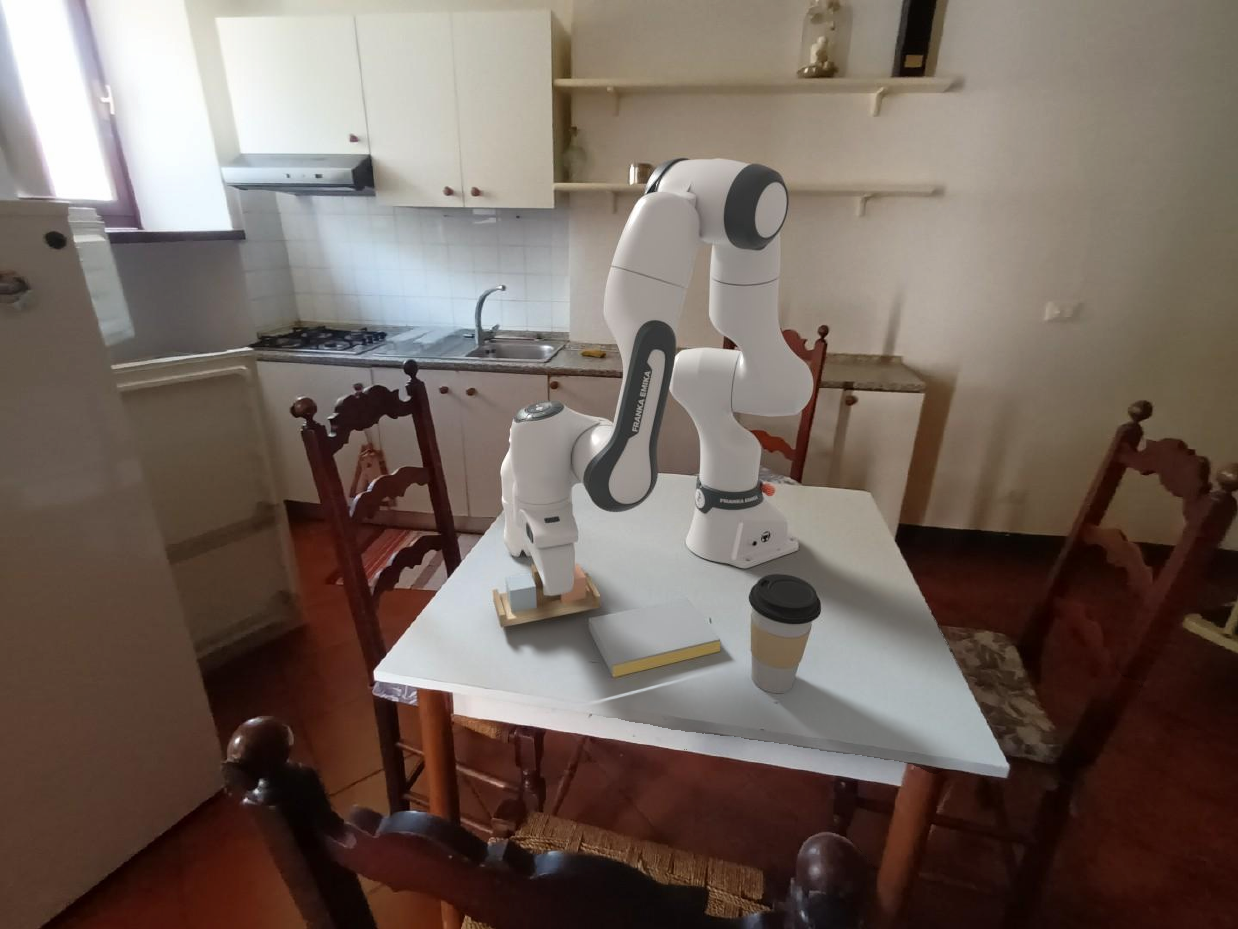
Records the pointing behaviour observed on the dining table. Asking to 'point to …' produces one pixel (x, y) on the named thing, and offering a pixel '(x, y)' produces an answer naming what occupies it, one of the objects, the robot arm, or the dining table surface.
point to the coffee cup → (780, 629)
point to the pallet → (544, 604)
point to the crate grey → (521, 592)
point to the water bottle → (511, 511)
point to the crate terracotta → (576, 587)
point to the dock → (652, 636)
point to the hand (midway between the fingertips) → (545, 586)
